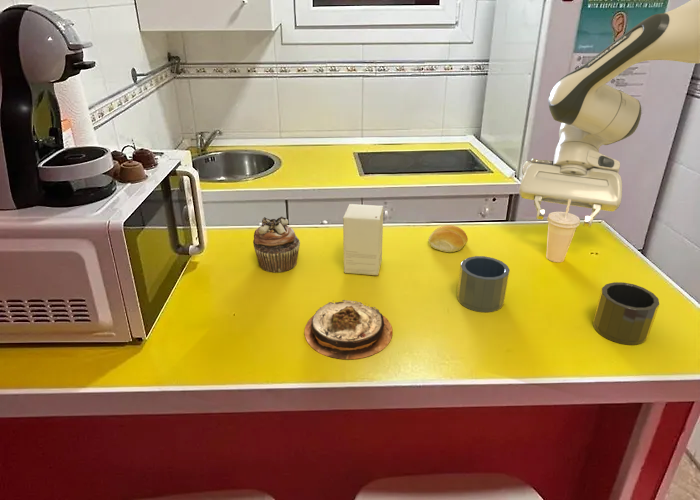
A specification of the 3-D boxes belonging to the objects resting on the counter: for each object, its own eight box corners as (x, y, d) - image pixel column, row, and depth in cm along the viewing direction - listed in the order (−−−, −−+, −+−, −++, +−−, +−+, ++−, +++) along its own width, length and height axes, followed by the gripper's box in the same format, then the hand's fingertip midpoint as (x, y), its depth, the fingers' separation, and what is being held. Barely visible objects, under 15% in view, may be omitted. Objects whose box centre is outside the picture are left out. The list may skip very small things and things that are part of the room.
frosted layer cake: (369, 370, 80) (370, 348, 78) (287, 342, 86) (286, 322, 84) (404, 320, 92) (405, 300, 90) (330, 299, 98) (330, 280, 96)
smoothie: (549, 266, 109) (562, 205, 103) (534, 252, 115) (545, 193, 108) (576, 263, 111) (591, 202, 104) (560, 250, 116) (573, 191, 110)
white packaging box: (382, 259, 112) (384, 205, 106) (378, 276, 105) (380, 219, 99) (348, 256, 113) (349, 202, 107) (342, 273, 106) (342, 216, 100)
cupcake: (257, 277, 105) (253, 232, 100) (253, 255, 113) (249, 212, 108) (304, 272, 107) (302, 228, 102) (297, 250, 115) (295, 209, 110)
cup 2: (645, 322, 92) (656, 288, 89) (649, 350, 85) (661, 315, 82) (592, 311, 95) (601, 278, 92) (592, 337, 88) (602, 303, 85)
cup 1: (506, 293, 100) (512, 261, 97) (500, 316, 93) (505, 283, 90) (462, 283, 103) (466, 252, 100) (452, 306, 96) (456, 273, 93)
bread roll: (470, 240, 120) (472, 224, 118) (458, 256, 113) (460, 239, 111) (436, 232, 124) (437, 217, 122) (423, 247, 117) (424, 231, 115)
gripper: (525, 150, 114) (512, 208, 110) (628, 162, 107) (618, 224, 103) (524, 164, 119) (512, 219, 116) (622, 176, 112) (612, 235, 109)
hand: (563, 222), depth 109 cm, fingers open, 8 cm apart
